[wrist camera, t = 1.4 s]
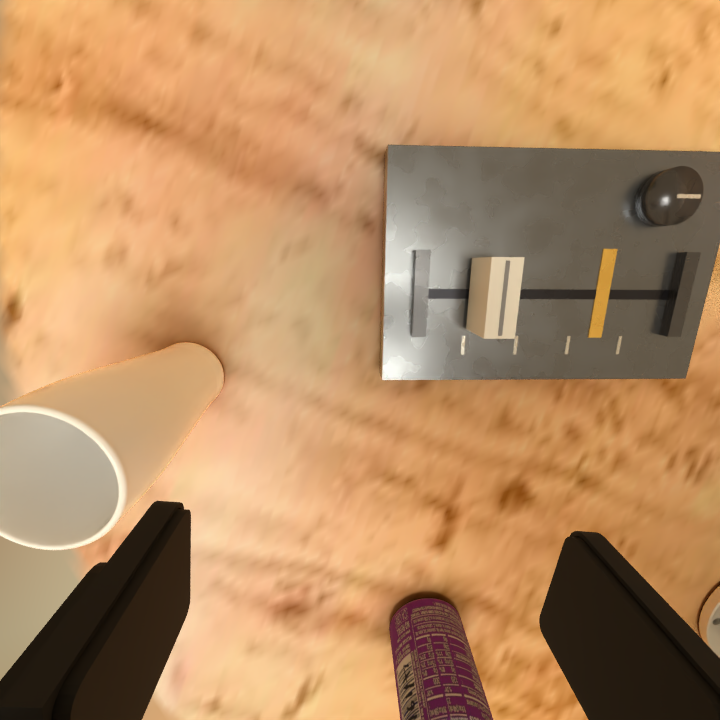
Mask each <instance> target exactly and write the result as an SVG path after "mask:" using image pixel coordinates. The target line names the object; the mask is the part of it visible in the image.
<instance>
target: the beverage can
mask: <svg viewBox="0 0 720 720" xmlns="http://www.w3.org/2000/svg"><path fill="white" fill-rule="evenodd" d="M390 638H391V646H392V654H393V663H394V671H395V679H396V687H397V695H398V704H399V712H400V720H493V718H492V714H491V711H490V708H489V705H488V702H487V699H486V696H485V693H484V690H483V687H482V683H481V680H480V677H479V674H478V671H477V668H476V665H475V662H474V659H473V656H472V653H471V649H470V646H469V643H468V640H467V637H466V634H465V631H464V628H463V625H462V622H461V618H460V616H459V613H458V612H457V610H456V609H455V608H454V607H453V606H452V605H450V604H449V603H447V602H445V601H443V600H439V599H434V598H423V599H418V600H414V601H411V602H409V603H407V604H405V605H404V606H402V607H401V608H400V609H399V610H398V611H397V612H396V613H395V614H394V616H393V618H392V620H391V623H390Z"/></svg>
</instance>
